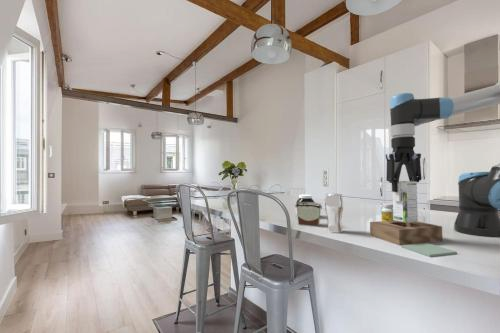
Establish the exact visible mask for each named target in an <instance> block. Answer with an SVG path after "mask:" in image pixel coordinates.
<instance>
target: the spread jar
mask: <svg viewBox="0 0 500 333" xmlns="http://www.w3.org/2000/svg"><path fill="white" fill-rule="evenodd" d="M298 202H315V200H314V199H313V195H312V194H299V195H298V199H297V200H296V203H298ZM296 203H295V204H296ZM295 213H296V215H297V207H295Z"/></svg>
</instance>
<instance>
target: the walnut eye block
mask: <svg viewBox="0 0 500 333" xmlns="http://www.w3.org/2000/svg"><path fill="white" fill-rule="evenodd" d="M369 234H370V236H372V237H374V238H377V239H380V240H383V241H386V242H389V243H391V244H395V245H397V246H402V245H410V244H420V243H436V242H443V226H442V225H438V224H433V223H428V222H424V221H419V220H418V221H417V222H409V223H404V222H400V221H395V220H393V221H382V220H381V221H380V220H379V221H370V222H369Z"/></svg>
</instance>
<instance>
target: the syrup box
mask: <svg viewBox="0 0 500 333" xmlns="http://www.w3.org/2000/svg"><path fill="white" fill-rule="evenodd" d="M398 183H401V202H398V201H394V199H393V198H392V204H393V220H395V221H400V222H404V223H409V222H417V221H419V218H418V217H419V216H418V214H419V213H418V212H419V211H418V192H417V191H418V185H417V184H418V182H414V181H407V180H399V182H398Z"/></svg>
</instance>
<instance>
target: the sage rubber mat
mask: <svg viewBox="0 0 500 333" xmlns="http://www.w3.org/2000/svg"><path fill="white" fill-rule="evenodd" d="M401 248H403V249H406V250H409V251H412V252H414V253H418V254H420V255H423V256H425V257H429V258H432V257H439V256H448V255H449V256H450V255H456V254H458V252H457V251H456V250H453V249H449V248H445V247H442V246H439V245H436V244H432V243H430V242H427V243H417V244H407V245H401Z"/></svg>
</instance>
